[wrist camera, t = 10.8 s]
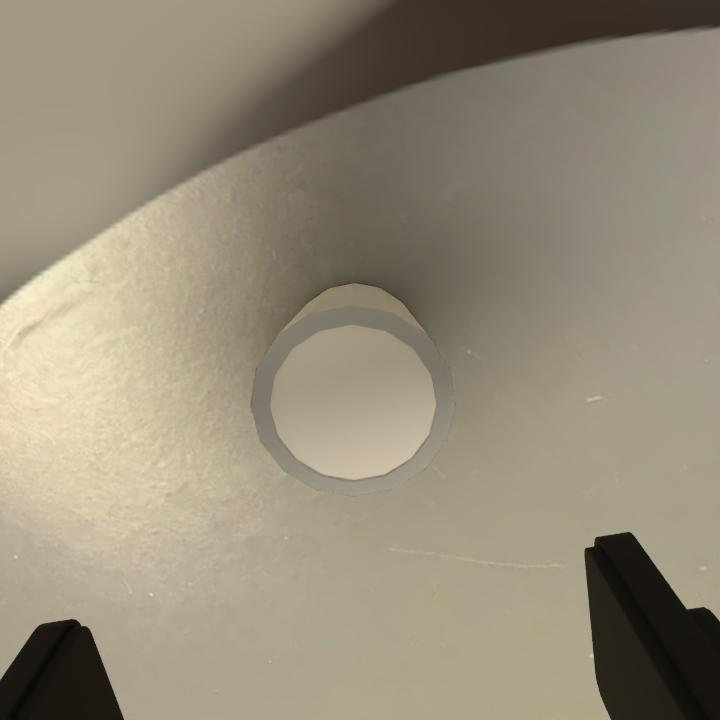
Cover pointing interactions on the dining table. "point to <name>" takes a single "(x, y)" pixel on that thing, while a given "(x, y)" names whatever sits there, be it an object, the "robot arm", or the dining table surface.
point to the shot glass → (353, 393)
